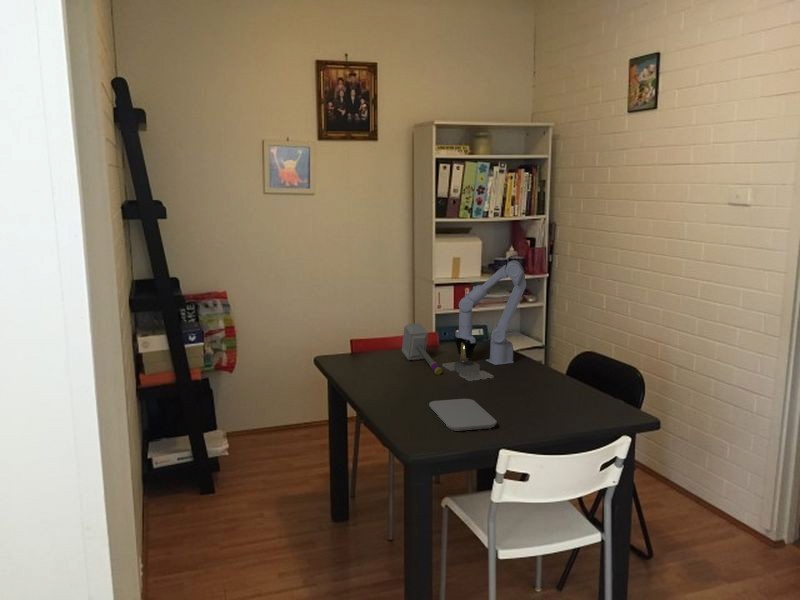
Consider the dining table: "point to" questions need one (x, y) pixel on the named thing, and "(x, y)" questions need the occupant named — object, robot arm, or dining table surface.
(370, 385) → the dining table surface
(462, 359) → the hinge pin
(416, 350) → the hammer
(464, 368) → the hinge base
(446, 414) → the tablet
